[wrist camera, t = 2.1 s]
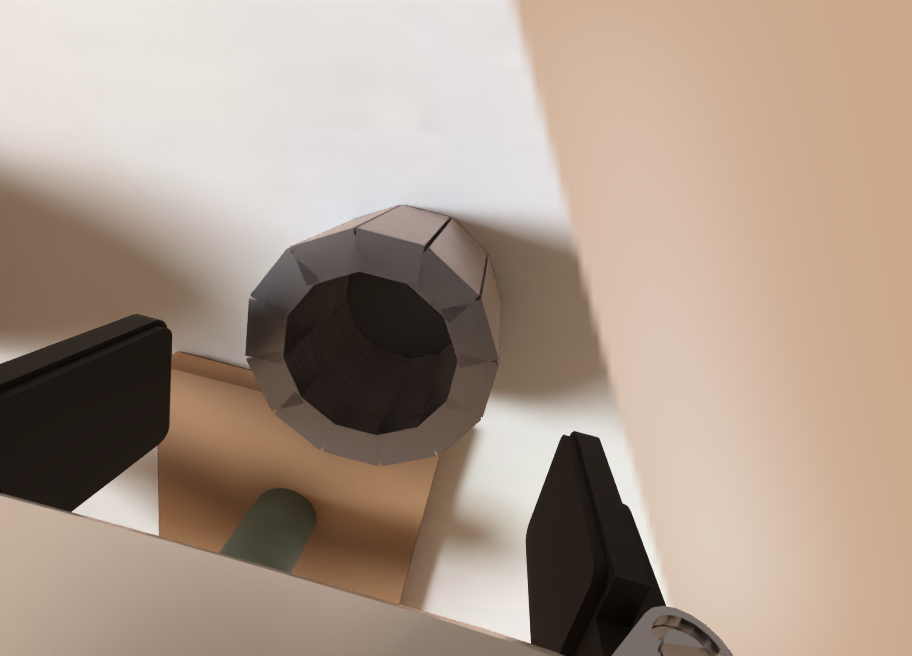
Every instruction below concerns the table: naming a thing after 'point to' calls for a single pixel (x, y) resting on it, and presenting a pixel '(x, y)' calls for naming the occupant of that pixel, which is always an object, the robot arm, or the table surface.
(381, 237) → the ring
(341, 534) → the post stand
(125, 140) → the table surface
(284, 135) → the table surface
